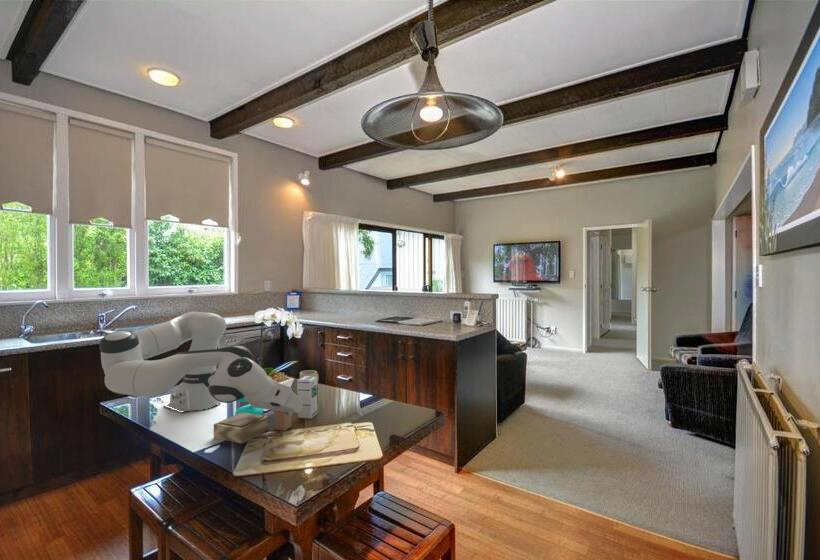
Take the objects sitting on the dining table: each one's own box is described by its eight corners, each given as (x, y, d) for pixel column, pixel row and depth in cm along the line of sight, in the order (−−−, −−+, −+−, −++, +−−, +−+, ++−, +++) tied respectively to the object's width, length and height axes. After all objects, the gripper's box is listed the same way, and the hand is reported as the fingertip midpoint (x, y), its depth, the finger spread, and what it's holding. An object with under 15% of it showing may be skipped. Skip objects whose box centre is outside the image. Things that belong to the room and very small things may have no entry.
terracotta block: (275, 429, 133) (274, 403, 133) (282, 425, 137) (282, 400, 137) (284, 430, 132) (284, 404, 132) (291, 426, 136) (291, 401, 136)
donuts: (268, 388, 149) (247, 395, 140) (268, 414, 149) (247, 422, 140) (250, 385, 153) (228, 392, 144) (250, 410, 153) (229, 418, 144)
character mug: (312, 397, 168) (312, 368, 168) (324, 400, 164) (323, 370, 164) (292, 404, 159) (292, 373, 159) (303, 407, 155) (303, 376, 155)
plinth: (213, 438, 126) (213, 423, 126) (241, 425, 137) (241, 411, 137) (242, 443, 122) (242, 427, 122) (268, 429, 133) (268, 415, 133)
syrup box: (311, 418, 143) (311, 380, 143) (297, 417, 144) (297, 379, 144) (318, 413, 149) (318, 376, 149) (304, 412, 150) (304, 375, 150)
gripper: (235, 398, 128) (256, 417, 137) (285, 405, 120) (304, 424, 130) (245, 381, 132) (265, 401, 141) (294, 387, 125) (312, 407, 134)
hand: (284, 412), depth 135 cm, fingers closed on terracotta block, 4 cm apart
